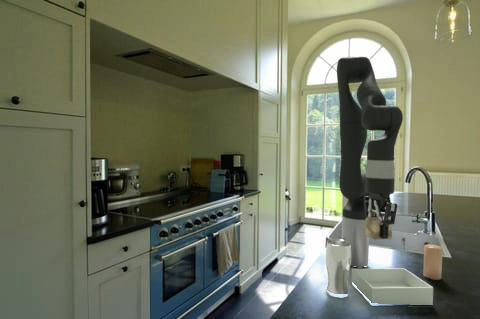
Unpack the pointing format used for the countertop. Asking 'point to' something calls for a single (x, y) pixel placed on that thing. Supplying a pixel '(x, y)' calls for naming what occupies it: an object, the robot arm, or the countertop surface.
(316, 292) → the countertop surface
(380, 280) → the grey tote
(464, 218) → the countertop surface
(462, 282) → the countertop surface
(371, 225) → the beech cube
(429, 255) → the terracotta cylinder
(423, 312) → the countertop surface
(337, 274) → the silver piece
